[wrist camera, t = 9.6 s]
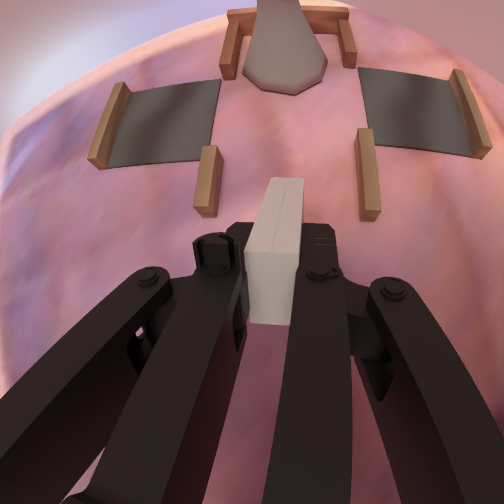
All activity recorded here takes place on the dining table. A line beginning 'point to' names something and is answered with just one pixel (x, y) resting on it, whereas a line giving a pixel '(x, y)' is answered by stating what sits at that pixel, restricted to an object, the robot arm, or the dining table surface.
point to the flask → (283, 49)
